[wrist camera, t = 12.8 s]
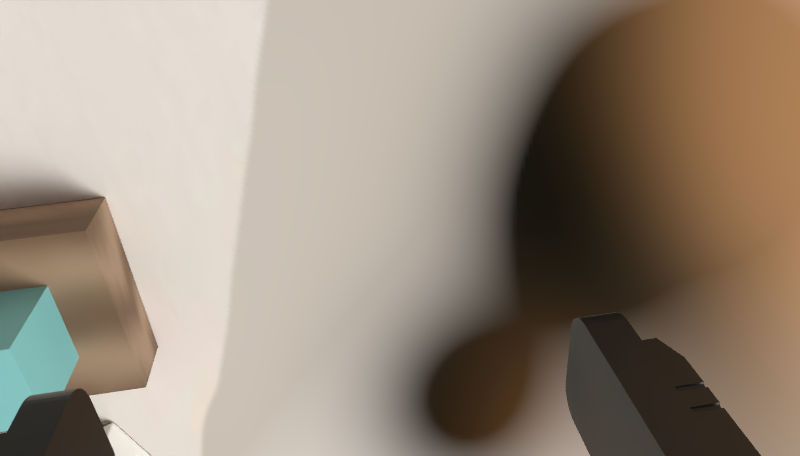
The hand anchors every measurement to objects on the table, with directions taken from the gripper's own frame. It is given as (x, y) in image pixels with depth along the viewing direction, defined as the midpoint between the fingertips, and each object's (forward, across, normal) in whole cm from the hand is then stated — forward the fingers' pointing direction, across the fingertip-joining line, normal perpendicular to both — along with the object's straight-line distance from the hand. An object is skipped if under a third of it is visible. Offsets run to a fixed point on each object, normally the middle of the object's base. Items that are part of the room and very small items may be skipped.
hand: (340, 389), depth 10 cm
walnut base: (+28, +20, +15) cm, 38 cm away
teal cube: (+24, +20, +15) cm, 35 cm away
